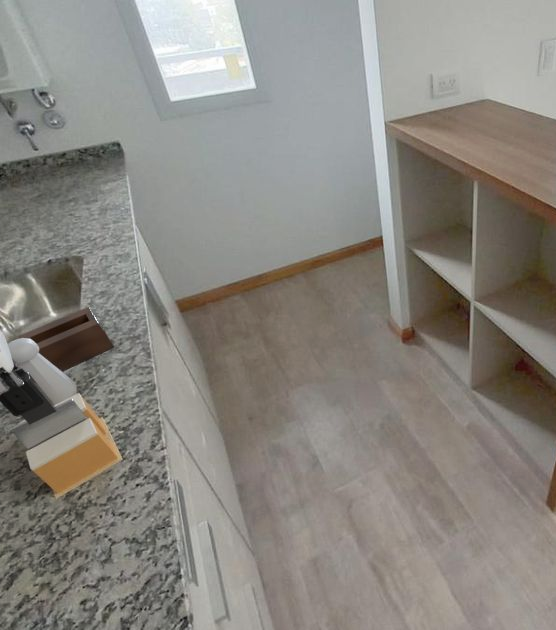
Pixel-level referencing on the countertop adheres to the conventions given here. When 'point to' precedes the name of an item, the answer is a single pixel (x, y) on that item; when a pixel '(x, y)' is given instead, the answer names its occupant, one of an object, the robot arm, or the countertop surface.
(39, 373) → the salt shaker
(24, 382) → the robot arm
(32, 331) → the knife block
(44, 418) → the knife
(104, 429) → the cake
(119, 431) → the countertop surface
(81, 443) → the cake slice
